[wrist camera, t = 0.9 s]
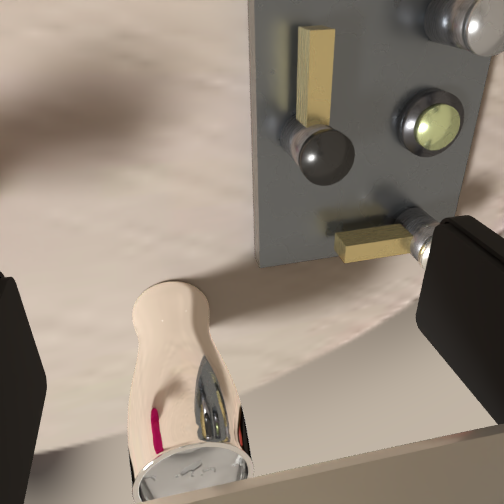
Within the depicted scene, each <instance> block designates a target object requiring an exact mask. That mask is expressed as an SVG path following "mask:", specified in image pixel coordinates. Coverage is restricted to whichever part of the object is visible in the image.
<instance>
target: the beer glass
mask: <svg viewBox="0 0 504 504" xmlns="http://www.w3.org/2000/svg"><path fill="white" fill-rule="evenodd" d="M209 315H210V312H209V304H208V301H207V298H206V297H205V295H204V294H203V293H202V292H201V291H200V290H199V289H198V288H197V287H195V286H193V285H191V284H188V283H185V282H180V281H168V282H163V283H159V284H156V285H154V286H152V287H150V288H148V289H147V290H146V291H144V292H143V293H142V294H141V295H140V296H139V297H138V299H137V300H136V302H135V304H134V307H133V311H132V320H133V324H134V328H135V331H136V334H137V337H138V343H139V349H138V355H137V361H136V365H135V370H134V374H133V379H132V384H131V389H130V396H129V403H128V420H127V433H128V450H129V461H130V469H131V477H132V495H133V499H134V501H135V503H140V502H145V501H149V500H154V499H158V498H163V497H167V496H172V495H176V494H181V493H185V492H190V491H194V490H199V489H203V488H208V487H212V486H217V485H221V484H226V483H230V482H235V481H239V480H244V479H248V478H253V475H254V465H253V462H252V458H251V452H250V446H249V439H248V434H247V428H246V423H245V419H244V414H243V409H242V405H241V402H240V399H239V395H238V392H237V389H236V386H235V384H234V381H233V379H232V377H231V375H230V372H229V370H228V368H227V366H226V364H225V362H224V360H223V358H222V357H221V355H220V353H219V351H218V349H217V347H216V345H215V343H214V341H213V339H212V337H211V334H210V329H209Z"/></svg>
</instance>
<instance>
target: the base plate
mask: <svg viewBox="0 0 504 504" xmlns="http://www.w3.org/2000/svg"><path fill="white" fill-rule="evenodd" d="M430 2H431V0H248V25H249V62H250V99H251V135H252V172H253V209H254V245H255V259H256V261H257V263H258V265H259V267H260V268H264V267H270V266H277V265H283V264H290V263H296V262H303V261H309V260H316V259H322V258H329V257H335V256H339V255H338V254H337V253H336V251H335V250H334V241H335V233H337V232H344V231H351V230H358V229H365V228H372V227H379V226H386V225H393V223H394V221H395V219H396V218H397V217H398V215H399V214H401V213H402V212H403V211H405V210H407V209H409V208H415V207H416V208H421V209H423V210H424V211H425V212H426V213H428V214H429V215H430V216H431V217H433V218H434V219H435V220H436V221H438V222H439V223H440V222H441V221H442V220H443V219H444V218H448V217H455V213H456V208H457V204H458V199H459V195H460V191H461V186H462V182H463V178H464V173H465V169H466V165H467V160H468V156H469V152H470V147H471V143H472V138H473V134H474V130H475V125H476V121H477V117H478V112H479V108H480V104H481V99H482V95H483V91H484V86H485V82H486V78H487V73H488V69H489V64H490V60H491V57H484V56H480V55H476V54H473V53H471V52H470V51H468V50H464V49H460V48H456V47H452V46H448V45H443V44H439V43H436V42H433V41H431V40H430V39H429V38H428V36H427V35H426V33H425V30H424V16H425V12H426V9H427V7H428V5H429V3H430ZM317 25H323V26H326V27H330V28H333V29H335V42H334V58H333V74H332V90H331V106H330V122H329V125H330V126H331V127H332V128H333V129H335V130H338V131H340V132H342V133H343V134H344V135H346V136H347V137H348V138H349V139H350V140H351V142H352V143H353V146H354V150H355V158H354V163H353V165H352V168H351V169H350V171H349V173H348V174H347V175H346V176H345V177H344V178H343V179H342V180H340V181H339V182H337V183H335V184H332V185H328V186H320V185H316V184H313V183H312V182H310V181H309V180H308V179H307V178H306V177H305V176H304V175H303V173H302V172H301V170H300V167H299V166H298V165H297V164H296V163H295V162H294V160H293V159H292V158H291V157H290V156H289V155H288V154H287V152H286V151H285V150H284V149H283V147H282V144H281V139H280V137H281V131H282V128H283V126H284V124H285V123H286V121H287V120H288V119H289V118H290V117H292V116H293V115H295V114H296V104H297V62H298V27H300V26H317Z"/></svg>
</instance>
